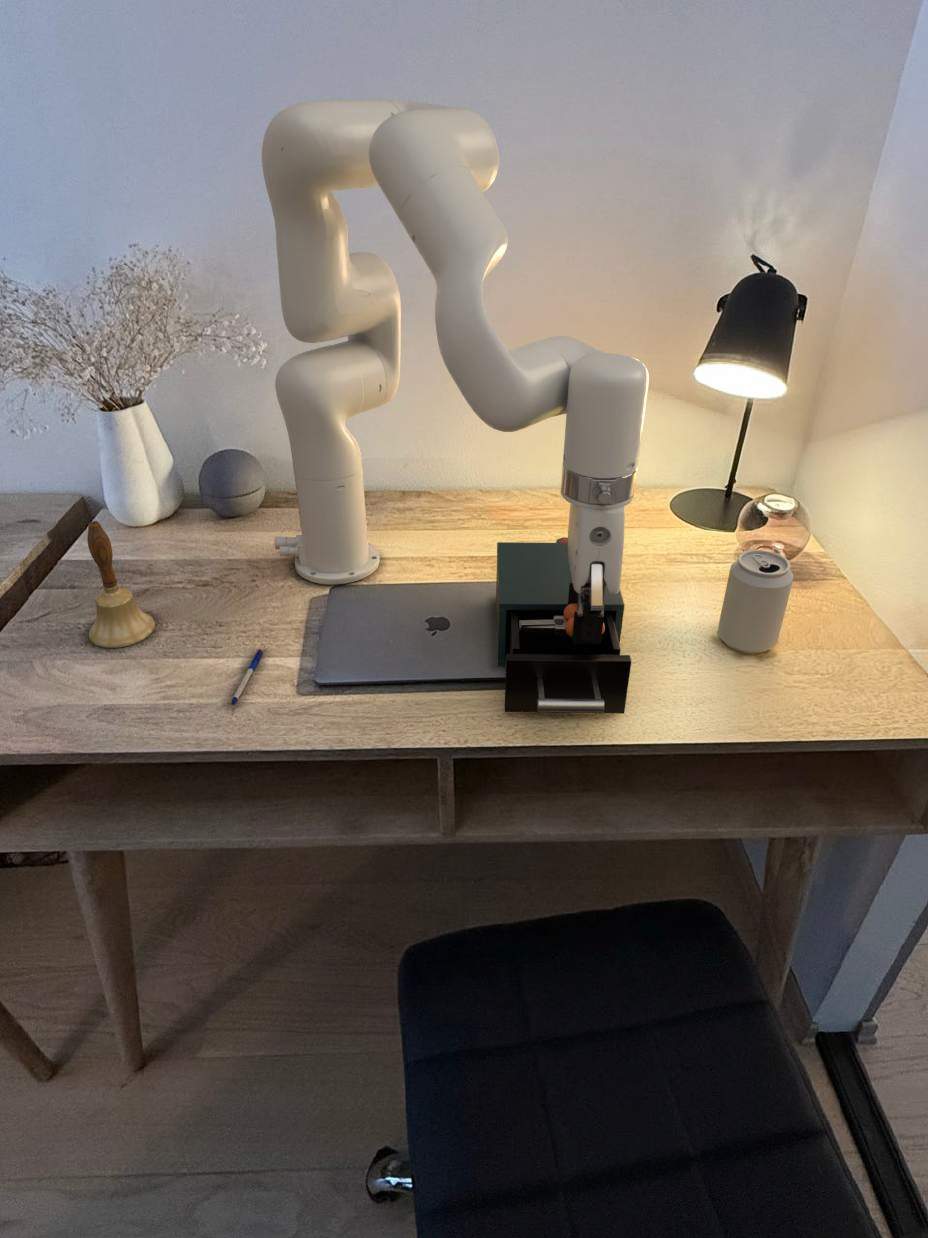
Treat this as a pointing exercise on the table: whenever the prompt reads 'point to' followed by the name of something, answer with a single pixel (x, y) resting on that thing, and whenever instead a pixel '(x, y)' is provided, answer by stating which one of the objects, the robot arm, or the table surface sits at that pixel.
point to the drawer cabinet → (537, 585)
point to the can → (755, 601)
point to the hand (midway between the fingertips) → (583, 626)
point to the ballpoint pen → (247, 676)
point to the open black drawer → (563, 670)
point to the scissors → (553, 623)
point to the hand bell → (114, 601)
